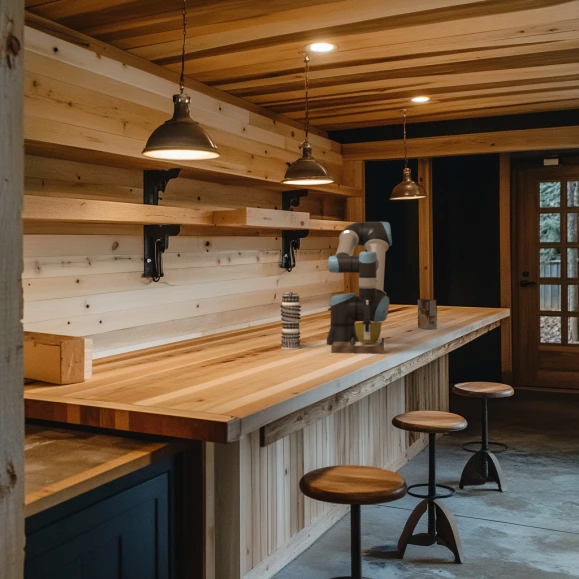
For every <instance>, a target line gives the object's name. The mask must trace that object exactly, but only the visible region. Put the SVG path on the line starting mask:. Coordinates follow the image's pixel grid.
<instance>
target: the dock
mask: <svg viewBox="0 0 579 579" xmlns="http://www.w3.org/2000/svg"><path fill="white" fill-rule="evenodd" d="M330 346H331V347H330V348H331V352H330V353H331V354H369V353H370V354H374V355H375V354H377V355H378V354H379V355H384V353H385V338H384V337H381V341H377V342H376V343H360V341H359V342H354V337H352V339H351V341H350V342H333V344H332V345H330ZM370 354H369V355H370Z"/></svg>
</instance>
